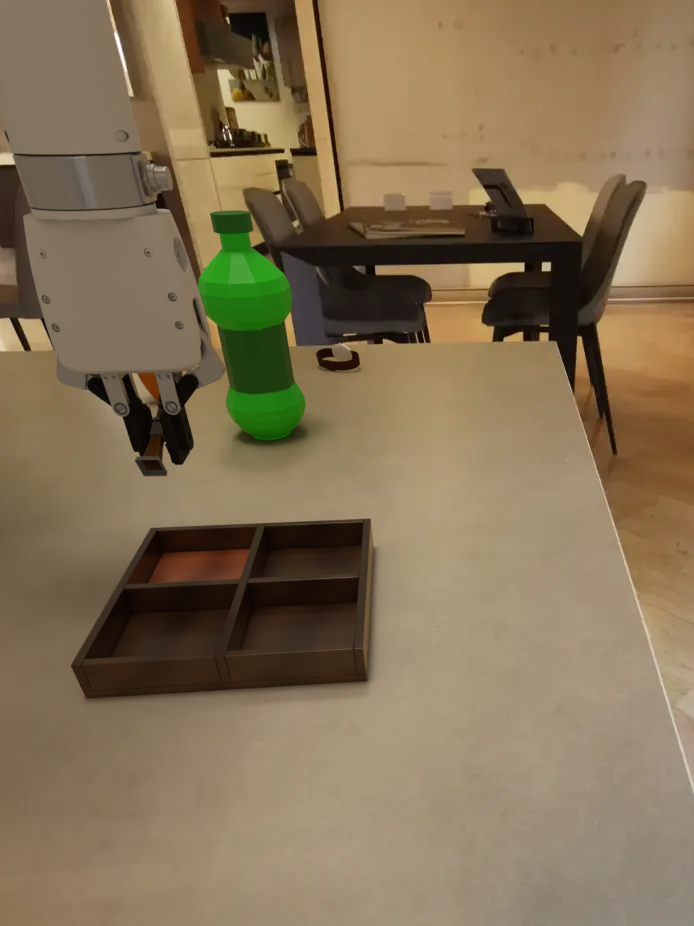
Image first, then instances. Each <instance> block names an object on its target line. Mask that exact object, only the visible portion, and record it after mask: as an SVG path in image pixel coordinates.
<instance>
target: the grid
mask: <svg viewBox="0 0 694 926" xmlns="http://www.w3.org/2000/svg"><path fill="white" fill-rule="evenodd" d="M373 534H374V533H373V526H372V518H352V519H351V518H350V519H348V518H347V519H327V520H304V521H303V520H302V521H301V520H300V521H284V522H283V521H279V522H278V521H277V522H276V521H275V522H256V523H255V522H251V523H232V524H231V523H230V524H209V525H207V524H205V525H186V526H185V525H184V526H182V525H181V526H161V527H150V528H149V530H148V532H147V533H146V535H145V537H144V538H143V540H142V542H141V544H140V546H139V547H138V548H137V550H136V552H135V554H134V556H133V558H132V559H131V561H130V562H129V564H128V566H127V568H126V569H125V571H124V572H123V575H122V576H121V578H120V580H119V581H118V583H117V585H116V586H115V588H114V590H113V592H112V593H111V595H110V597H109V599H108V600H107V602H106V604H105V606H104V607H103V609H102V611H101V612H100V614H99V616H98V618H97V620H96V621H95V622H94V624H93V626H92V628H91V629H90V631H89V633H88V635H87V636H86V638H85V639H84V642H83V643H82V645H81V647H80V649H79V650H78V651H77V653H76V655H75V657H74V659H73V660H72V662H71V664H70V667H71V670H72V671H73V674H74V676H75V678H76V680H77V682H78V685H79V688H80V689H81V691H82V693H83V695H84V697H85V698H88V699H91V698H105V697H107V698H108V697H120V696H139V695H153V694H167V693H170V694H171V693H185V692H203V691H218V690H234V689H235V690H236V689H249V688H250V689H251V688H252V689H253V688H264V687H265V688H267V687H268V688H269V687H282V686H299V685H313V684H332V683H349V682H362V681H363V682H365V681H368V674H369V673H368V671H369V654H370V653H369V652H370V651H369V650H370V634H371V633H370V629H371V613H372V612H371V611H372V609H371V608H372V589H373V571H374V570H373V568H374V550H375V546H374V545H375V543H374V536H373Z"/></svg>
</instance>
